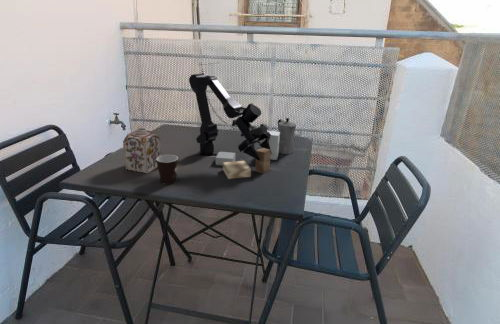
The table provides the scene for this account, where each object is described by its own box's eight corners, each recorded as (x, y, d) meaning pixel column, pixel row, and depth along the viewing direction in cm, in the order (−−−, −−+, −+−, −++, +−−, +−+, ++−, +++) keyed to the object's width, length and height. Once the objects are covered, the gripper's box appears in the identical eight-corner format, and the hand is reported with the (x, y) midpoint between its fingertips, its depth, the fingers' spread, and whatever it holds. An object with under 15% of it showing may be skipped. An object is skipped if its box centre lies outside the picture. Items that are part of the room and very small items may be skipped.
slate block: (215, 165, 157) (215, 157, 155) (219, 159, 164) (219, 151, 163) (232, 166, 156) (232, 158, 154) (235, 160, 163) (235, 152, 162)
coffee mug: (168, 187, 133) (167, 164, 130) (153, 181, 138) (151, 159, 134) (188, 177, 143) (187, 155, 139) (173, 172, 147) (172, 151, 143)
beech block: (228, 179, 143) (228, 171, 141) (223, 170, 152) (223, 162, 150) (250, 177, 146) (250, 168, 144) (244, 168, 154) (244, 160, 153)
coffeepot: (299, 154, 173) (302, 120, 167) (284, 156, 170) (286, 122, 163) (283, 145, 186) (286, 113, 179) (269, 147, 182) (271, 114, 176)
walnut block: (255, 171, 151) (256, 150, 147) (261, 167, 155) (262, 147, 151) (263, 173, 149) (264, 152, 145) (269, 170, 153) (270, 149, 149)
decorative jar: (125, 169, 148) (120, 130, 141) (141, 160, 158) (138, 124, 151) (147, 174, 144) (144, 134, 138) (163, 164, 154) (160, 127, 148)
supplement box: (276, 160, 164) (278, 135, 160) (262, 158, 166) (263, 134, 161) (278, 155, 171) (280, 131, 166) (264, 153, 172) (265, 130, 168)
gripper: (243, 122, 138) (264, 153, 136) (268, 114, 152) (287, 142, 150) (229, 136, 145) (248, 166, 144) (254, 128, 160) (272, 154, 158)
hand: (265, 157), depth 149 cm, fingers open, 9 cm apart
